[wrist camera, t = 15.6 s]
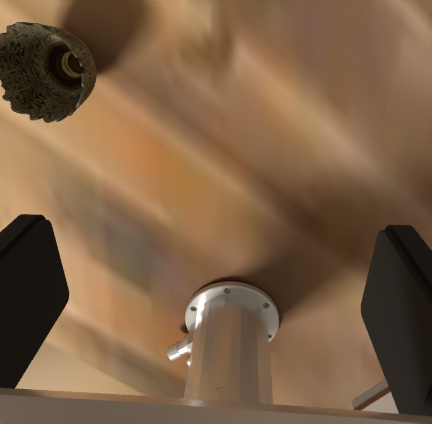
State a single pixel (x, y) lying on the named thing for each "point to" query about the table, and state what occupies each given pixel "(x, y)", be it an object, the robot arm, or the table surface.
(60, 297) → the robot arm
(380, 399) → the display case
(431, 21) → the table surface
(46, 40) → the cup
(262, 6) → the table surface
